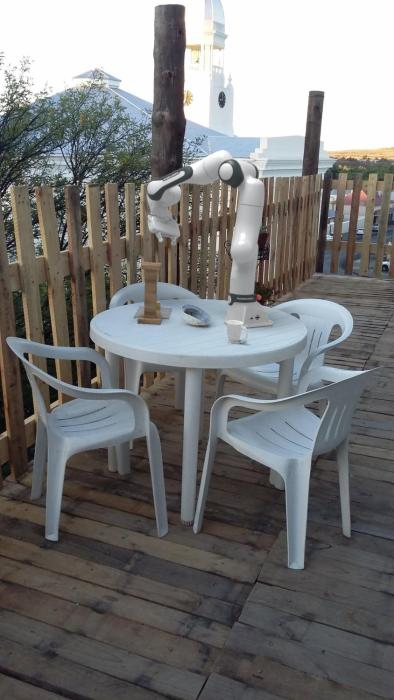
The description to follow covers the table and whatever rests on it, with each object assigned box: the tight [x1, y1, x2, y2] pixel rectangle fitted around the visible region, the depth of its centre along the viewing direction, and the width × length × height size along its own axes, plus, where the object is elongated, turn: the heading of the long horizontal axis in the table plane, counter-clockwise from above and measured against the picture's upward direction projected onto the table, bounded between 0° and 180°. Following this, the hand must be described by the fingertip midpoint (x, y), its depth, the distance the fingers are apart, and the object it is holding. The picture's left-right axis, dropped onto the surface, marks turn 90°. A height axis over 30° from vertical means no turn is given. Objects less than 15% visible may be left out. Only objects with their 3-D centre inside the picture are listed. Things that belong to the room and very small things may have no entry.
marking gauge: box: [156, 300, 162, 315], centre depth 275 cm, size 16×6×6 cm, turn 0°
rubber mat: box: [133, 305, 172, 320], centre depth 274 cm, size 22×16×1 cm
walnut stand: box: [137, 261, 163, 326], centre depth 254 cm, size 10×10×26 cm
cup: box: [225, 320, 249, 344], centre depth 230 cm, size 7×10×8 cm
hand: (167, 243), depth 273 cm, fingers open, 8 cm apart
